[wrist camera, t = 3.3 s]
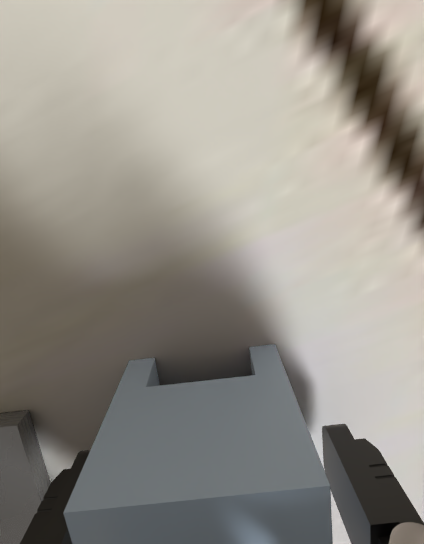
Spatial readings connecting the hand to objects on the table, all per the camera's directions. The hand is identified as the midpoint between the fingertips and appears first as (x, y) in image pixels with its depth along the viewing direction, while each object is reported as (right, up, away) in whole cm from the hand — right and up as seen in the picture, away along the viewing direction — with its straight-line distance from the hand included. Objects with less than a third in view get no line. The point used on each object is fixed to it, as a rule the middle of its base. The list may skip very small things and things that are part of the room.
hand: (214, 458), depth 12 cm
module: (0, 0, +1) cm, 1 cm away
